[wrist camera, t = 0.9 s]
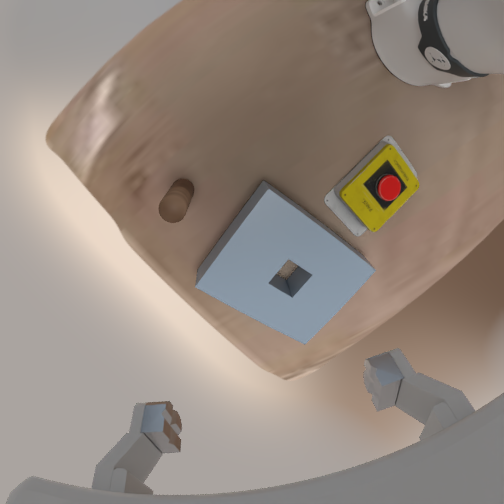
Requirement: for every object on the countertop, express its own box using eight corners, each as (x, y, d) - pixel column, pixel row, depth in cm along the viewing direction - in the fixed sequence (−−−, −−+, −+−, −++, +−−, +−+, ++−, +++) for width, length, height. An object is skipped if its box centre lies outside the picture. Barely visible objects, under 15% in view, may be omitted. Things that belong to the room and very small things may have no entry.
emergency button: (432, 182, 39) (366, 248, 43) (417, 175, 43) (356, 237, 47) (401, 135, 36) (329, 207, 40) (386, 132, 40) (320, 198, 44)
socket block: (263, 180, 41) (268, 188, 37) (363, 255, 48) (375, 270, 44) (197, 269, 47) (195, 286, 42) (298, 325, 53) (305, 344, 49)
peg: (179, 174, 40) (167, 190, 32) (198, 186, 41) (191, 205, 33) (167, 193, 41) (153, 213, 33) (186, 205, 42) (177, 227, 34)
